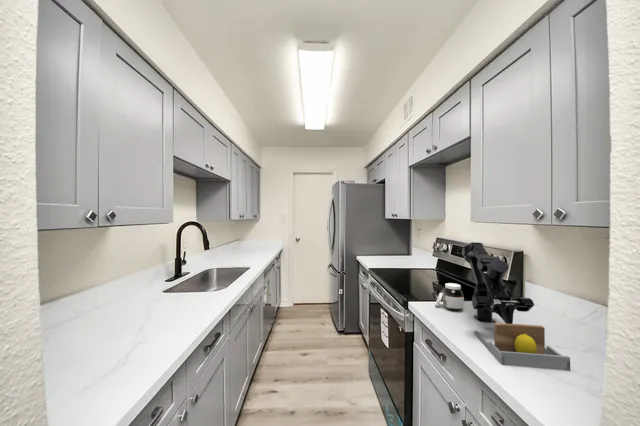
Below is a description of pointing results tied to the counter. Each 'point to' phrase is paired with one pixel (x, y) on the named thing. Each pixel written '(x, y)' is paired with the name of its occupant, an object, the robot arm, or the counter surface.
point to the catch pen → (528, 357)
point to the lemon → (525, 344)
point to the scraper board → (509, 332)
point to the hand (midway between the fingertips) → (510, 327)
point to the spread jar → (452, 297)
